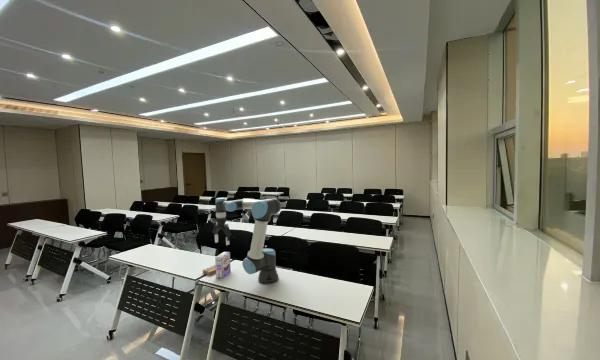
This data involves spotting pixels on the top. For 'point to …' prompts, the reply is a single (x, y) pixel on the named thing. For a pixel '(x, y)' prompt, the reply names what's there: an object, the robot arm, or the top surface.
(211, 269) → the plinth
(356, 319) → the top surface
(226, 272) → the candy box
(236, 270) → the top surface
